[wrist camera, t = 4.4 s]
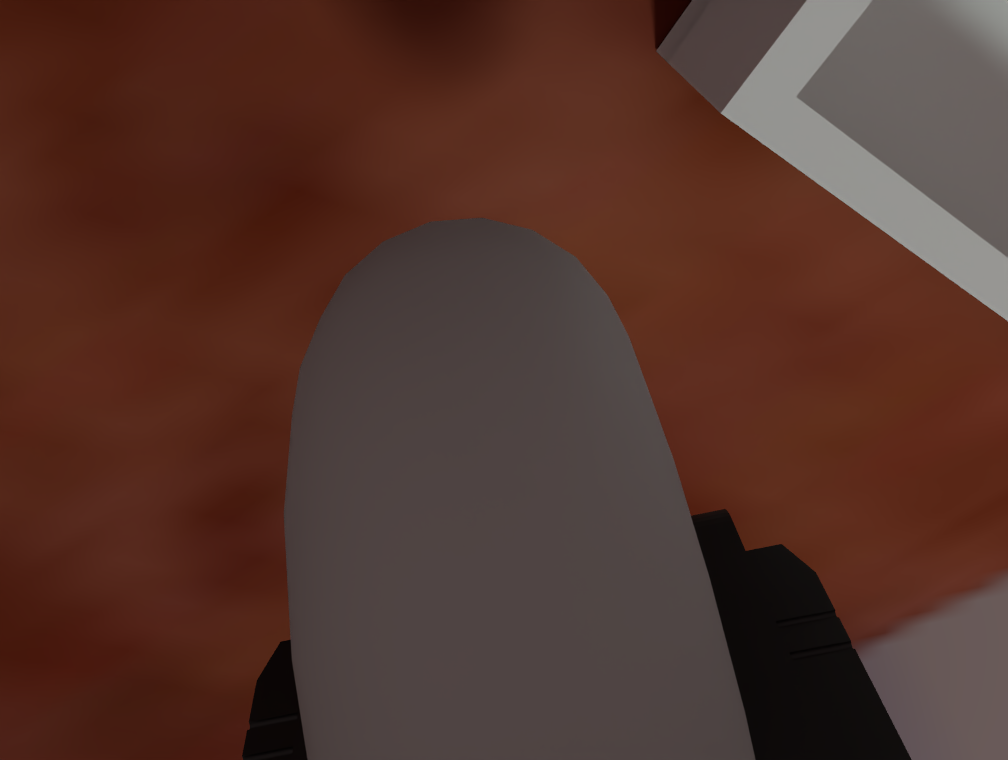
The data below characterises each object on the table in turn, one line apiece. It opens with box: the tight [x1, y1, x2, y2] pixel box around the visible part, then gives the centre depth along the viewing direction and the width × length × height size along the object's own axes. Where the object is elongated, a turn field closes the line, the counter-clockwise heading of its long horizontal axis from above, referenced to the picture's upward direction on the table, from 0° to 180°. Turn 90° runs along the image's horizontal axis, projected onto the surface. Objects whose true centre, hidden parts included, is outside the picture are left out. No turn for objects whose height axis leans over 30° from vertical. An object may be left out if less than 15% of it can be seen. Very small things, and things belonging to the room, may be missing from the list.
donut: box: [284, 218, 755, 760], centre depth 10 cm, size 10×3×10 cm, turn 12°
